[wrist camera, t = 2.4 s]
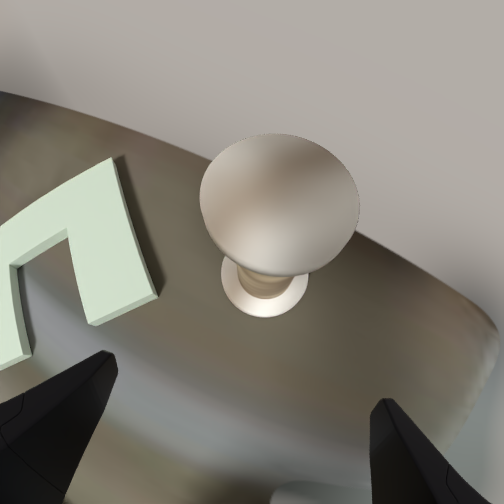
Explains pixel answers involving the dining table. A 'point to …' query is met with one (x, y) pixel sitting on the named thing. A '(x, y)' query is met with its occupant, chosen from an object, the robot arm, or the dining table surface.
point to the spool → (276, 217)
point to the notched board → (75, 253)
